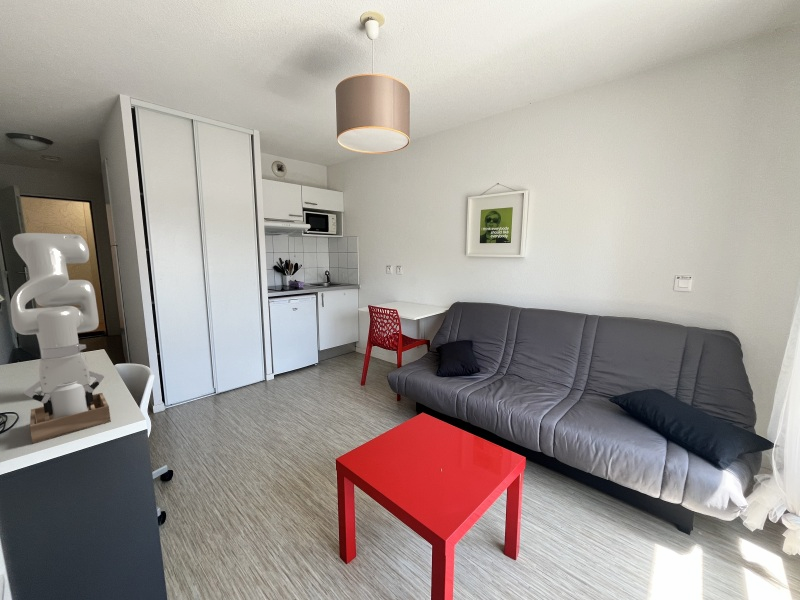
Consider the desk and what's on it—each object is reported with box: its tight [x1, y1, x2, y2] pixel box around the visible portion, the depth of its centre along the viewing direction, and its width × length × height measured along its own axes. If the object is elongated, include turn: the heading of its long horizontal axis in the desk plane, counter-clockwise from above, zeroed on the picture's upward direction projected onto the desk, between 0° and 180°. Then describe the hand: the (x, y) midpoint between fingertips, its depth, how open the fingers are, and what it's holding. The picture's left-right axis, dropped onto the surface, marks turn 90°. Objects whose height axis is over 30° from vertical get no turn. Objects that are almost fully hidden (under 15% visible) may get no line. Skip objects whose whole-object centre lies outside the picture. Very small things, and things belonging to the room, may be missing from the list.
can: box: [49, 381, 88, 420], centre depth 97 cm, size 8×8×12 cm
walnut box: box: [29, 392, 112, 445], centre depth 99 cm, size 16×16×5 cm
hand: (70, 408), depth 97 cm, fingers closed on can, 7 cm apart
